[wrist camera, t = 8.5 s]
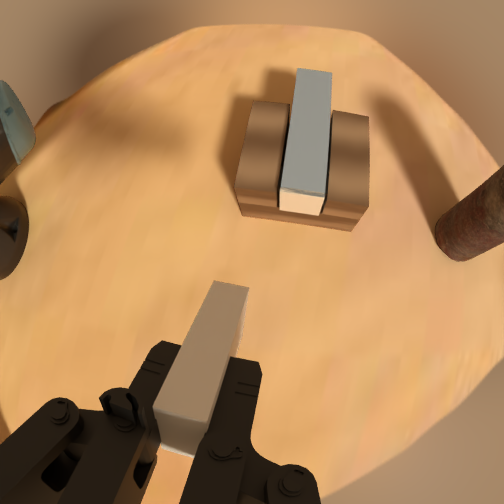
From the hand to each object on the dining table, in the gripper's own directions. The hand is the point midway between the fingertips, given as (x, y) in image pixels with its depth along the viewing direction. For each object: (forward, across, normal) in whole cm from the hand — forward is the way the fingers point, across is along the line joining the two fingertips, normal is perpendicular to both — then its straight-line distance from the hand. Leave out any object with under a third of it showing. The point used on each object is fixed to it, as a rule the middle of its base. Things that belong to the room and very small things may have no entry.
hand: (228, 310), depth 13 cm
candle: (+28, +26, -3) cm, 38 cm away
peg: (+29, +3, +4) cm, 29 cm away
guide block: (+31, +3, -1) cm, 31 cm away
